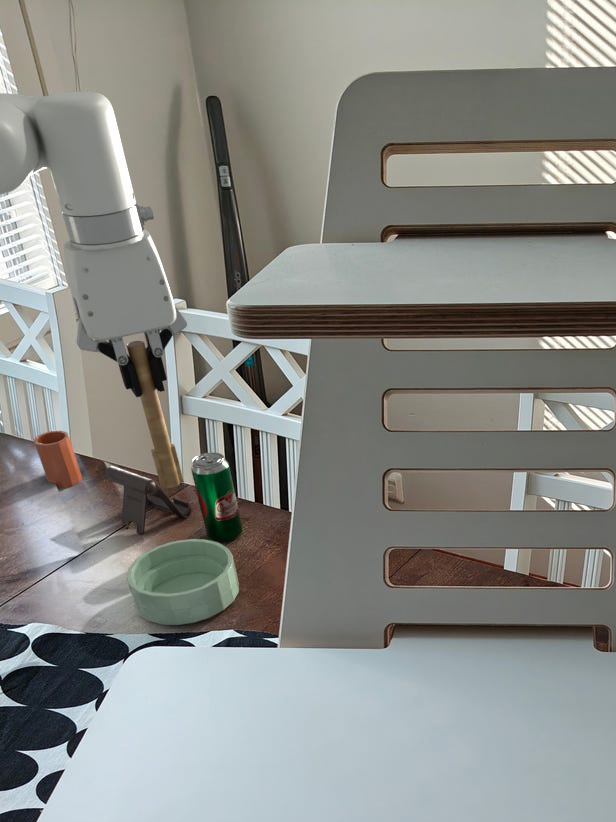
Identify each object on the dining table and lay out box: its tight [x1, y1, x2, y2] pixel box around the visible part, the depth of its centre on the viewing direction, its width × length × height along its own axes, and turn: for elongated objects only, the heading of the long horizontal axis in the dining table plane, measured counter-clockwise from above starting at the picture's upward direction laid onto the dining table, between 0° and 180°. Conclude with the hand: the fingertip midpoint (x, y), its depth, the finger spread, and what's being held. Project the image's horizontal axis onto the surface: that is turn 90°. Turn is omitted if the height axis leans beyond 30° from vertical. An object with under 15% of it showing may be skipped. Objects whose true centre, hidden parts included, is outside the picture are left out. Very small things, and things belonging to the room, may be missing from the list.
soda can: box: [190, 452, 244, 543], centre depth 137 cm, size 5×5×12 cm
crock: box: [33, 430, 83, 490], centre depth 152 cm, size 5×5×8 cm
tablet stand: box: [104, 465, 192, 535], centre depth 142 cm, size 9×8×8 cm
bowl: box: [126, 538, 240, 626], centre depth 127 cm, size 13×13×5 cm
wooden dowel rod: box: [126, 340, 185, 489], centre depth 117 cm, size 3×2×18 cm
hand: (147, 389), depth 115 cm, fingers closed on wooden dowel rod, 2 cm apart
